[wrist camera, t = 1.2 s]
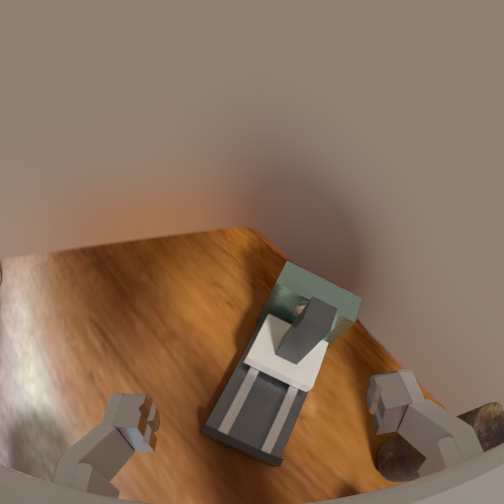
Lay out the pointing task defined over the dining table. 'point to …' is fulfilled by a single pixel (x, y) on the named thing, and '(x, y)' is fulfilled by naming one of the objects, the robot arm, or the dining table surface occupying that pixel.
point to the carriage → (294, 345)
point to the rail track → (267, 387)
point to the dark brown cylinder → (410, 459)
